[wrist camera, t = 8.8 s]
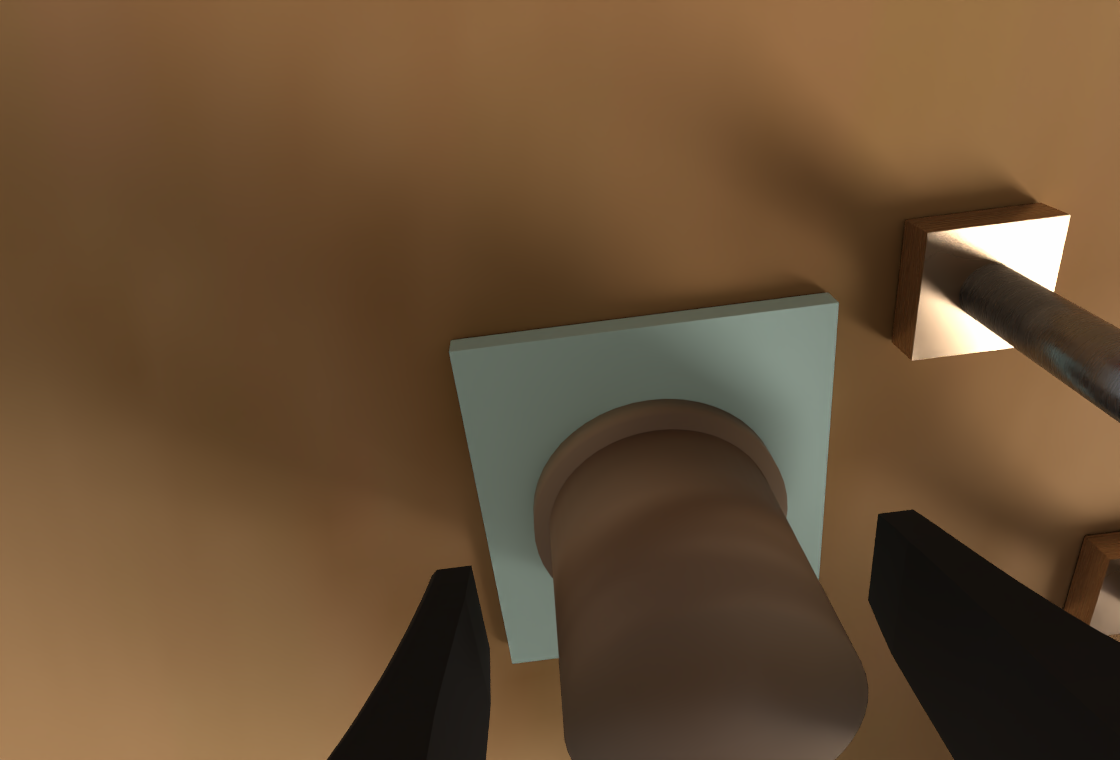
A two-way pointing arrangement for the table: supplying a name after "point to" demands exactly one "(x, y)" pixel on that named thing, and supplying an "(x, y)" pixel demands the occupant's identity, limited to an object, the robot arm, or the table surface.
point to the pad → (627, 377)
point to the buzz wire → (1014, 334)
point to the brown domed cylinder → (688, 596)
